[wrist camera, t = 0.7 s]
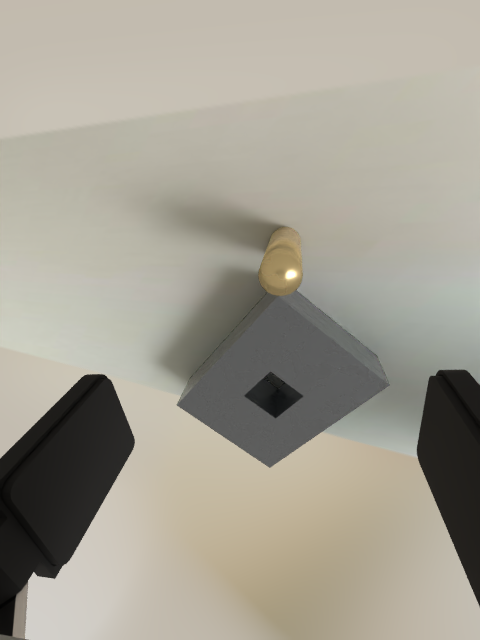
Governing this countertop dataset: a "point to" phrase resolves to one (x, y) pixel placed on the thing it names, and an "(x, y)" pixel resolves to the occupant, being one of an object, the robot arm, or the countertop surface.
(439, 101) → the countertop surface
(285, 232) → the brass pin
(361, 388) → the block
